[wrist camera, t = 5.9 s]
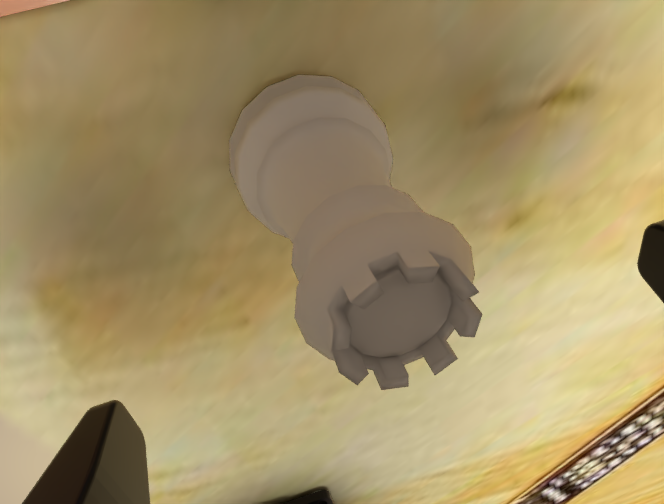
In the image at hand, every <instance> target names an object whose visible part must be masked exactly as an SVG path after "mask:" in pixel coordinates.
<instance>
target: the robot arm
mask: <svg viewBox="0 0 664 504" xmlns="http://www.w3.org/2000/svg"><path fill="white" fill-rule="evenodd" d="M637 264H638V270H639V272H640V274H641V276H642V277H643V279H644V280H645V281H646V282H647V284H648V285H649V286H650V287H651V288H652V290H653V291H654V292H655V293H656V294H657V296H658V297H659V298H660V299H661V300H662V302H663V303H664V220H662V221H659V222H656V223H653V224H651V225H649V226H648V227H647V228H646V229H645V231H644V235H643V239H642V244H641V248H640V253H639V257H638V263H637ZM22 504H150V496H149V483H148V470H147V458H146V445H145V440H144V436H143V433H142V431H141V429H140V428H139V426H138V425H137V424H136V422H135V421H134V419H133V418H132V416H131V415H130V414H129V412H128V411H127V409H126V408H125V406H124V405H123V404H122V403H121V402H120V401H118V400H112V401H109V402H106V403H103V404H100V405H97V406H94V407H92V408H90V409H89V410H88V411H87V412H86V413H85V415H84V416H83V418H82V419H81V420H80V422H79V423H78V425H77V426H76V428H75V429H74V430H73V432H72V433H71V435H70V436H69V437H68V439H67V440H66V442H65V443H64V445H63V446H62V447H61V449H60V450H59V452H58V453H57V454H56V456H55V457H54V459H53V460H52V462H51V463H50V465H49V466H48V467H47V469H46V470H45V472H44V473H43V474H42V476H41V477H40V479H39V480H38V481H37V483H36V484H35V486H34V487H33V489H32V490H31V491H30V493H29V494H28V496H27V497H26V499H25V500H24V502H23V503H22ZM284 504H334V502H333V500H332V497H331V494H330V492H329V491H327V490H321V491H317V492H315V493H312V494H309V495H306V496H303V497H301V498H298V499H295V500H292V501H290V502H287V503H284Z"/></svg>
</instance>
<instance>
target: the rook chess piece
mask: <svg viewBox="0 0 664 504" xmlns="http://www.w3.org/2000/svg"><path fill="white" fill-rule="evenodd" d="M229 155H230V173H231V175H232V177H233V179H234V181H235V185H236V187H237V189H238V191H239V193H240V196H241V198H242V200H243V202H244V204H245V206H246V209H247V210H248V211H249V212H250V213H251V214H252V215H253V216H254V217H256V218H257V219H258V220H259V221H260V222H261V223H262V224H264V225H265V226H266V227H267V228H268V229H269V230H270V231H272V232H273V233H276V234H279V235H282V236H284V237H286V238H289V239H290V240H291V241H292V243H293V252H292V267H293V270H294V272H295V274H296V276H297V279H298V281H299V284H298V285H297V292H296V305H295V320H296V322H297V324H298V326H299V328H300V330H301V332H302V335H303V337H304V339H305V341H306V343H307V344H309V345H310V346H312V347H313V348H314V349H316V350H317V351H318V352H320V353H321V354H323V355H324V356H325V357H327V358H328V359H331V360H334V361H335V362H336V365H337V367H338V370H339V373H341V374H342V375H344V376H345V377H346V378H348V379H349V380H351V381H352V382H353V383H355V384H356V385H358V384H359V383H360V382H361V381H362V380H363V379H364V378H365V377H366V376H367V375H368V374H369V373H368V371H367V369H370V370H373V371H374V374H375V376H376V378H377V381H378V383H379V385H380V388H381V390H385V389H392V388H400V387H408V373H407V371H406V369H405V367H404V365H405V364H408V363H410V362H413V361H415V360H417V359H420V358H422V357H424V358H425V360H426V361H427V363H428V365H429V367H430V368H431V370H432V372H433V373H434V375H436V374H438V373H439V372H440V371H442V370H443V369H444V368H446V367H447V366H448V365H450V364H451V363H453V362H454V361H455V360H457V359H458V358H457V356H456V355H455V353H454V352H453V350H452V349H451V347H450V346H449V344H448V342H447V341H446V340H447V338H448V337H449V336H450V334H451V333H452V332H453V330H454V329H455V330H456V331H457V332H458V334H459V335H460V336H464V337H475V334H476V331H477V328H478V326H479V323H480V320H481V317H482V313H481V312H480V310H479V309H478V308H477V307H476V305H475V304H474V303H473V302H472V300H471V299H470V297H471V296H473V295H475V294H477V293H478V292H479V291H478V290H477V289H476V287H475V286H474V285H473V284H472V283H473V279H474V276H475V273H474V266H473V258H472V251H471V246H470V245H469V244H468V243H467V241H466V240H465V239H464V238H463V236H462V235H461V234H460V232H459V231H458V230H457V229H456V227H455V226H454V225H453V224H451V223H449V222H446V221H444V220H441V219H439V218H437V217H434V216H432V215H429V214H427V213H424V212H423V211H422V210H421V209H420V208H419V206H418V205H417V204H416V203H415V201H414V200H413V199H412V198H411V197H410V195H408V194H406V193H403V192H401V191H399V190H396V189H394V188H392V185H391V183H390V175H391V169H392V164H393V156H392V152H391V147H390V143H389V139H388V134H387V130H386V126H385V124H384V123H383V122H382V120H381V119H380V118H379V116H378V115H377V113H376V112H375V111H374V110H373V108H372V107H371V106H370V104H369V103H368V102H367V100H366V99H365V98H364V97H363V95H362V94H361V93H360V91H359V90H357V89H355V88H353V87H351V86H349V85H347V84H345V83H343V82H341V81H339V80H337V79H335V78H334V77H332V76H314V75H297V76H294V77H291V78H289V79H286V80H283V81H281V82H278V83H275V84H273V85H270V86H267V87H266V88H265V89H264V90H263V91H262V92H261V93H260V94H259V95H258V96H256V97H255V98H254V99H253V100H252V101H251V102H250V103H249V104H248V105H247V106H246V107H245V108H244V109H243V110H242V112H241V114H240V116H239V119H238V121H237V123H236V126H235V128H234V130H233V133H232V135H231V137H230V140H229Z"/></svg>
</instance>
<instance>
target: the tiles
mask: <svg viewBox="0 0 664 504" xmlns="http://www.w3.org/2000/svg"><path fill="white" fill-rule="evenodd" d="M64 1H68V0H0V17H2V16H6V15H10V14H14V13H19V12H23V11H27V10H31V9H35V8H39V7H43V6H47V5H51V4H56V3H60V2H64Z"/></svg>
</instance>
